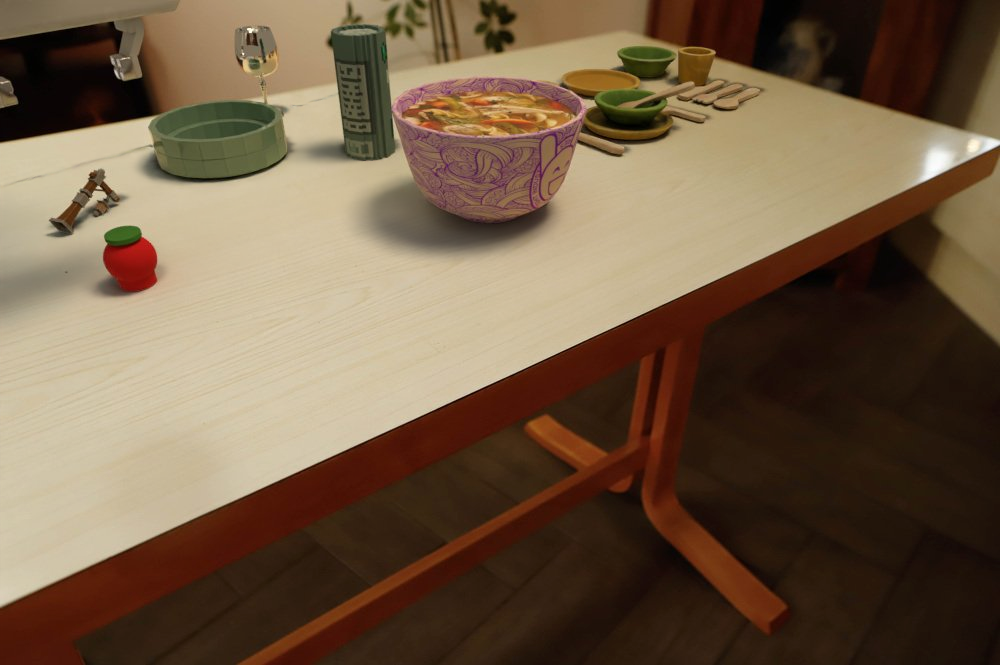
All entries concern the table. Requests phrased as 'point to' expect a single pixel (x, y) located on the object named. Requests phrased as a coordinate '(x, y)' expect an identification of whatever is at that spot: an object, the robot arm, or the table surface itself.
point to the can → (364, 90)
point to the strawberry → (130, 258)
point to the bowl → (218, 138)
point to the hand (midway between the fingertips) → (70, 91)
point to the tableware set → (646, 94)
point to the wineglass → (256, 53)
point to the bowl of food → (489, 143)
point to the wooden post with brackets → (85, 201)
